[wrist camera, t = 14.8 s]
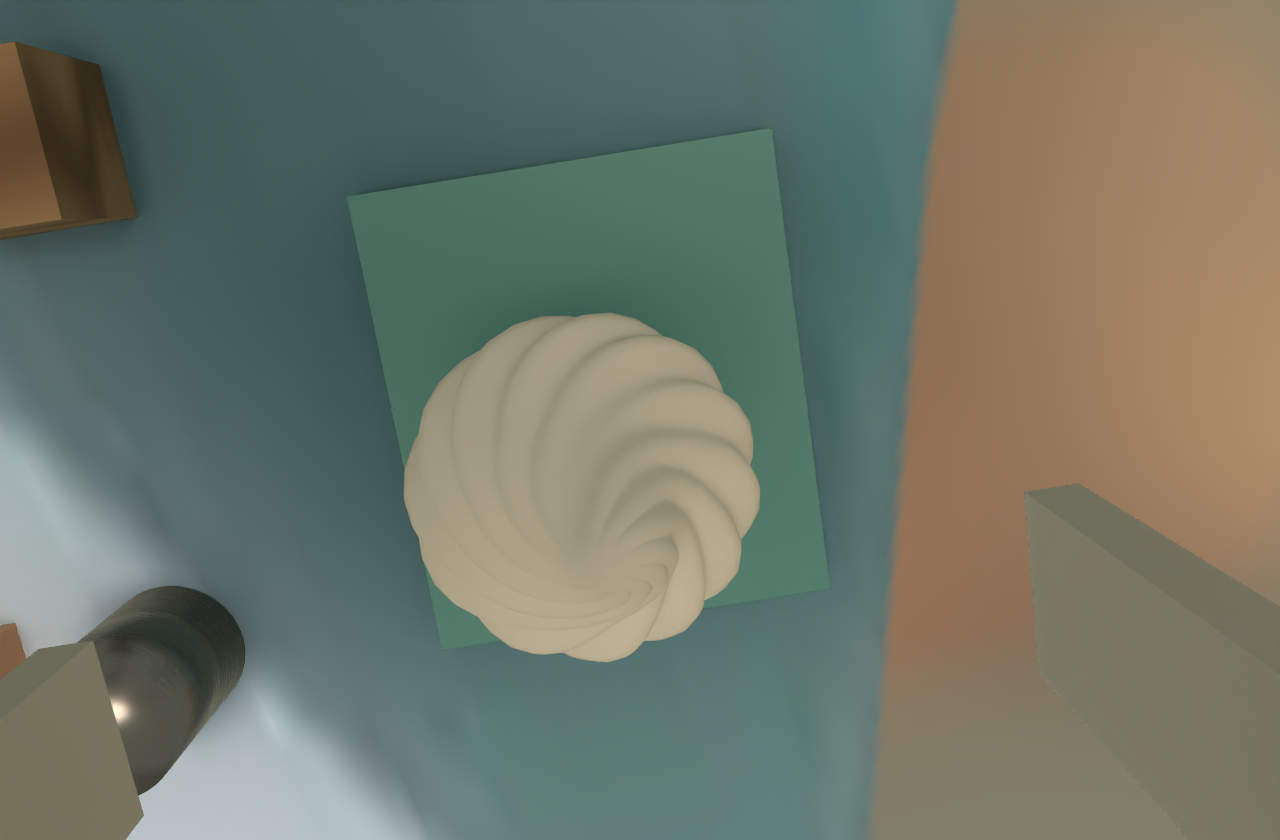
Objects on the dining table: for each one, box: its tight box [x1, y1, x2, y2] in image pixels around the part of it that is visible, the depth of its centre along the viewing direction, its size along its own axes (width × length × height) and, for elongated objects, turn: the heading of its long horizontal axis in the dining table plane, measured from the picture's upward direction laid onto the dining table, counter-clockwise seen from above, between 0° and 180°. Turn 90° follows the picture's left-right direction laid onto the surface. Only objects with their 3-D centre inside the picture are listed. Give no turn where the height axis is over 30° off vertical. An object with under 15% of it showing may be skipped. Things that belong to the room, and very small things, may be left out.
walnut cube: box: [0, 42, 137, 239], centre depth 32 cm, size 5×5×5 cm
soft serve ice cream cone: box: [404, 312, 760, 662], centre depth 27 cm, size 8×8×16 cm
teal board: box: [347, 128, 830, 650], centre depth 36 cm, size 16×14×2 cm
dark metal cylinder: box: [77, 586, 245, 795], centre depth 35 cm, size 5×5×6 cm
